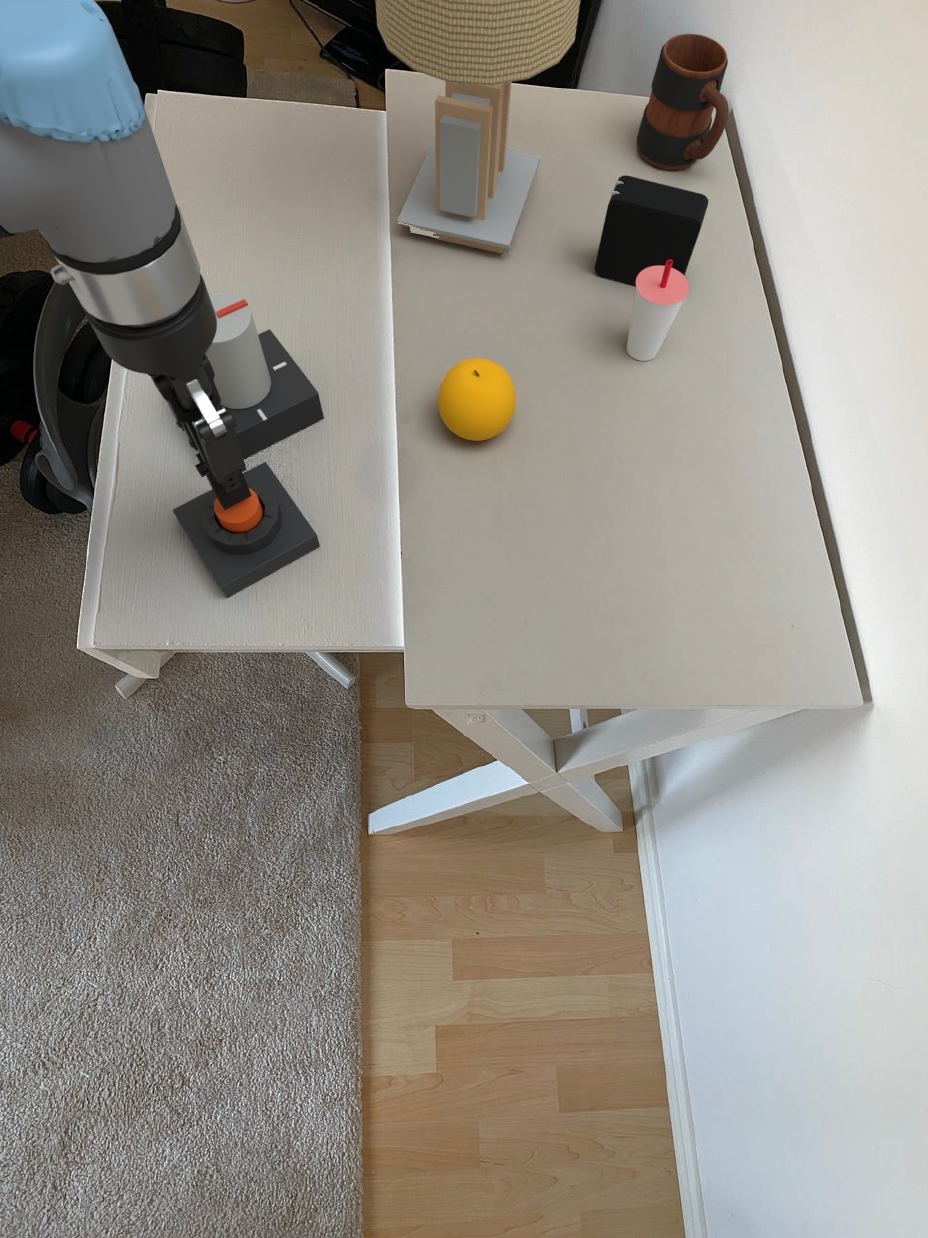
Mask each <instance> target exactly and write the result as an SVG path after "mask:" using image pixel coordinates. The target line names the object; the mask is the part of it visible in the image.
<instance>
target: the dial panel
mask: <svg viewBox="0 0 928 1238" xmlns="http://www.w3.org/2000/svg"><path fill="white" fill-rule="evenodd" d="M258 337H259V340H260V344H261V347H262V351H263V354H264V358H265V361H266V365H267V368H268V372H269V375H270V379H271V387H270V390H269V393H268V394H267V396H266V397H265V398H264V399H263V400H262V401H261V402H259V403H258V404H256V405H254V406H252V407H249V408H244V409H231V408H227V407H224V406H222V405H221V404H219V406H218V407H217V409H219V408H221V407H224V408H225V410H226V411H229V412H230V413H231V414H233V415H234V417H235V419H236V421H235V422H236V425H237V427H236V434H237V437H238V441H239V445H240V448H241V452H242V455H243V459H244V460H245V459H247V458H250V457H252V456H253V455H256V454H257V453H259V452H261V451H264V450H265V449H267V448H269V447H271V446H273V445H275V444H277V443H279V442H280V441H282V440H285V439H287V438H289V437H291V436H292V435H294V434H296V433H299V432H300V431H302V430H304V429H306V428H308V427H311V426H312V425H314V424H316V423H318V422H320V421H322V420H323V419H325V418H324V412H323V408H322V403H321V398H320V394H319V393H320V392H319V391H318V390H317V389H316V387H315V386H314V385H313V384H312V382H311V381H310V380H309V379H308V377H307V376H306V374H305V373H304V372H303V370H302V369H301V368H300V366H299V365H298V364H297V363H296V361H295V360H294V359H293V357H292V356H291V355H290V353H289V352H288V351H287V349H286V348H285V347H284V346H283V344H282V343H281V341H280V340H279V339H278V338H277V336H276V335H275V334H274V333H273V331H272V330H271V329H270V328H269V329H267V330H265V331H263V332H260V333H259V334H258Z"/></svg>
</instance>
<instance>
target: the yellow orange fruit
mask: <svg viewBox="0 0 928 1238" xmlns="http://www.w3.org/2000/svg"><path fill="white" fill-rule="evenodd" d="M437 398H438V399H437V405H438V410H439V414H440V418H441V420H442V421H443V423H444V424H445V426H446V427H447V428H448V430H450V432H452V433H453V434H455V435H456V436H458V437H460V438H462V439H465V440H468V441H475V442H476V441H478V442H479V441H485V440H489V439H492V438H494V437H496V436H498V435H499V434H501V433H502V432H503V431H504V430H505V429H507V427H508V426H509V425H510V422H511V420H512V419H513V416H514V415H515V412H516V407H517V406H516V403H517V392H516V387H515V385H514V382H513V379H512V377H511V375H510V374H509V373H508V371H507V370H506V369H505V368H504V367H503V366H502V365H500V364H499V363H497V362H496V361H494V360H491V359H487V358H484V357H483V358H482V357H472V358H465V359H464V360H461V361H459V362H457V363H456V364H454V366H452V367H451V368H450V369H449V370H448V371H447V373H446V374H445V376H444V377H443V379H442V381H441V383H440V385H439V390H438V397H437Z"/></svg>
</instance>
